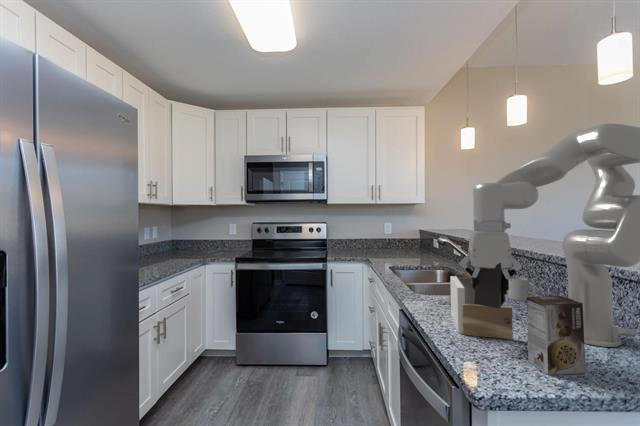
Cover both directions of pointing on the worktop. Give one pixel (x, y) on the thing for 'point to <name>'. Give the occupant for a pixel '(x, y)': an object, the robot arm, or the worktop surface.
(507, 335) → the door
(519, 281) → the cup
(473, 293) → the coffee pot
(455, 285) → the wall frame
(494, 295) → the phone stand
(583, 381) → the worktop surface
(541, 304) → the coffee box
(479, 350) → the worktop surface
